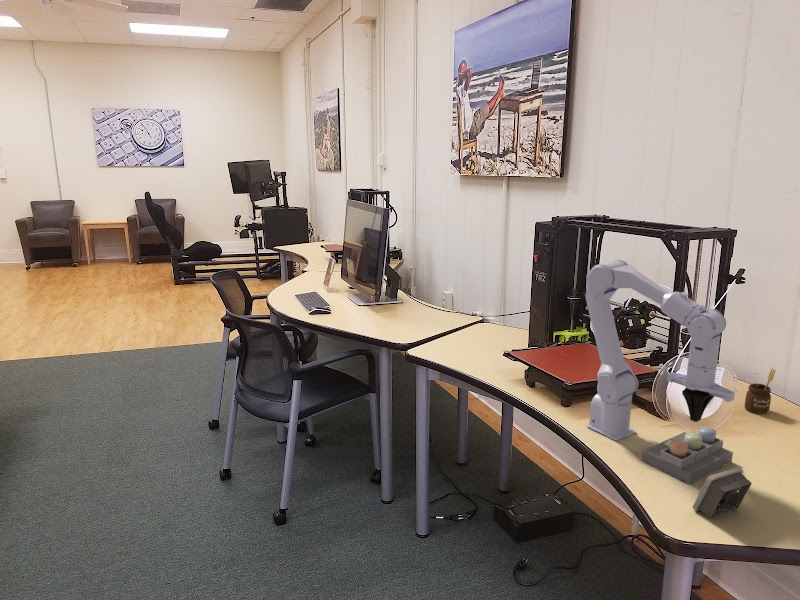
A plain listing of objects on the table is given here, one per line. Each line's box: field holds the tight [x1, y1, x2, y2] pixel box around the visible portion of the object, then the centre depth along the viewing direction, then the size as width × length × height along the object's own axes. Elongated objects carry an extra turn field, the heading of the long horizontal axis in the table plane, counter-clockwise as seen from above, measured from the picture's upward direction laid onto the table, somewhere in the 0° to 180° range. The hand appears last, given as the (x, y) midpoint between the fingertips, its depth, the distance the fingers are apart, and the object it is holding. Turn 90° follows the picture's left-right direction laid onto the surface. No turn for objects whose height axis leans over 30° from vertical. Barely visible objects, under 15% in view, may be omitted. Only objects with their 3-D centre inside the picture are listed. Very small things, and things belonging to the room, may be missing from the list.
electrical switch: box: [692, 466, 753, 520], centre depth 117 cm, size 9×5×9 cm, turn 113°
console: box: [640, 431, 734, 485], centre depth 136 cm, size 12×17×4 cm
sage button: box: [684, 432, 702, 450], centre depth 135 cm, size 4×4×2 cm
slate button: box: [697, 426, 717, 443], centre depth 138 cm, size 4×4×2 cm
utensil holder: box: [744, 368, 776, 415], centre depth 161 cm, size 6×6×12 cm
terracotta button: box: [669, 440, 688, 457], centre depth 132 cm, size 4×4×2 cm
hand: (695, 419), depth 134 cm, fingers closed
